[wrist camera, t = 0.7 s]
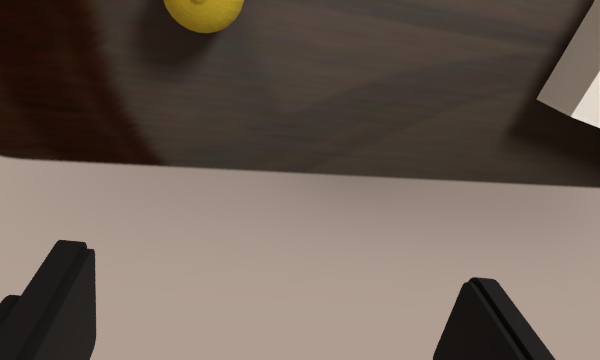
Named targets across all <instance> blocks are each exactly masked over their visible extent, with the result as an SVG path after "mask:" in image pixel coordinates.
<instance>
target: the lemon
mask: <svg viewBox="0 0 600 360" xmlns="http://www.w3.org/2000/svg"><path fill="white" fill-rule="evenodd" d="M163 1H164V3H165V6H166V8H167V10H168V11H169V13H170V14H171V16H172V17H173V18H174V19H175V20H176V21H177V22H178V23H179V24H180V25H182V26H184V27H185V28H187V29H189V30H192V31H195V32H198V33H212V32H216V31H220V30H222V29H224V28H226V27H228V26H229V25H230V24H231V23H232V22H233V21H234V20H235V19H236V17H237V16H238V14H239V13H240V11H241V8H242V5H243V2H244V0H163Z"/></svg>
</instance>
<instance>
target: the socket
mask: <svg viewBox="0 0 600 360" xmlns="http://www.w3.org/2000/svg"><path fill="white" fill-rule="evenodd" d="M537 100H539V101H541V102H543V103H545V104H547V105H548V106H550V107H552V108H554V109H556V110H558V111H560V112H562V113H564V114H566V115H568V116H570V117H572V118H575V119H578V120H580V121H583V122H585V123H588V124H590V125H593V126H596V127H598V128H600V0H595V1H594V3H593V4H592V6H591V8H590V9H589V11H588V13H587V14H586V16H585V18H584V20H583V21H582V23H581V25H580V26H579V28H578V30H577V31H576V33H575V35H574V36H573V38H572V40H571V41H570V43H569V45H568V46H567V48H566V50H565V52H564V53H563V55H562V57H561V58H560V60H559V62H558V63H557V65H556V67H555V68H554V70H553V72H552V73H551V75H550V77H549V78H548V80H547V82H546V84H545V85H544V87H543V89H542V90H541V92H540V94H539V95H538V97H537Z"/></svg>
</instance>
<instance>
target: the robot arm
mask: <svg viewBox="0 0 600 360" xmlns="http://www.w3.org/2000/svg"><path fill="white" fill-rule="evenodd" d="M95 292H96V291H95V251H94V249H87V245H86V243H85V242H77V241H66V240H59V241H57V243H56V244H55V245H54V247H53V248H52V250H51V251H50V253H49V254H48V256H47V257H46V259H45V261H44V262H43V263H42V265H41V266H40V268H39V269H38V271H37V272H36V274H35V276H34V277H33V278H32V280H31V282H30V283H29V285H28V286H27V287H26V289H25V290H24V292H23V294H22V295H21V296H18V295H9V296H7V297H5V298H4V299H3V300H2V302H1V303H0V360H90V357H91V354H92V352H93V349H94V345H95V341H96V295H95V294H96V293H95ZM433 360H555V359H554V357H553V356H552V354H551V353H550V352H549V350H548V349H547V348H546V346H545V345H544V344H543V342H542V341H541V340H540V338H539V337H538V336H537V334H536V333H535V332H534V330H533V329H532V328H531V326H530V325H529V323H528V322H527V321H526V319H525V318H524V317H523V315H522V314H521V313H520V312H519V310H518V309H517V307H516V306H515V305H514V304H513V302H512V301H511V299H510V298H509V297H508V295H507V294H506V293H505V291H504V290H503V288H502V287H501V286H500V284H499V283H498V282H497V281H496V280H494V279H487V278H476V277H475V278H471V279H470V280H469V281H468V282H466V283H464V284H463V286H462V288H461V290H460V293H459V295H458V297H457V300H456V302H455V305H454V307H453V309H452V312H451V314H450V317H449V319H448V321H447V324H446V326H445V329H444V331H443V333H442V336H441V339H440V341H439V343H438V345H437V348H436V350H435V353H434V356H433Z"/></svg>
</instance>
